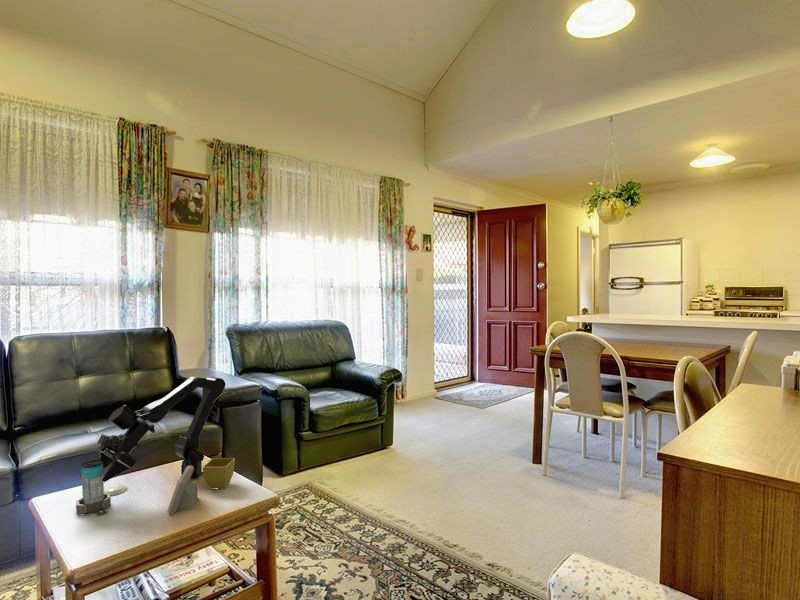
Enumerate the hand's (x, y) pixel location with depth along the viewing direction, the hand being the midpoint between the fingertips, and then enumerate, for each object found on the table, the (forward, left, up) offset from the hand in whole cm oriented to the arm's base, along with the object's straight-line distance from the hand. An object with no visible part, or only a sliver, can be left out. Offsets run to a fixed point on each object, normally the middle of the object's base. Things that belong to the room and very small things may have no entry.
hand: (97, 478), depth 157 cm
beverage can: (+1, +1, -10) cm, 10 cm away
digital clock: (-27, -5, -10) cm, 29 cm away
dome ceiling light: (+5, -12, -10) cm, 16 cm away
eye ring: (+1, +1, -10) cm, 10 cm away
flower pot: (-32, -20, -10) cm, 39 cm away
